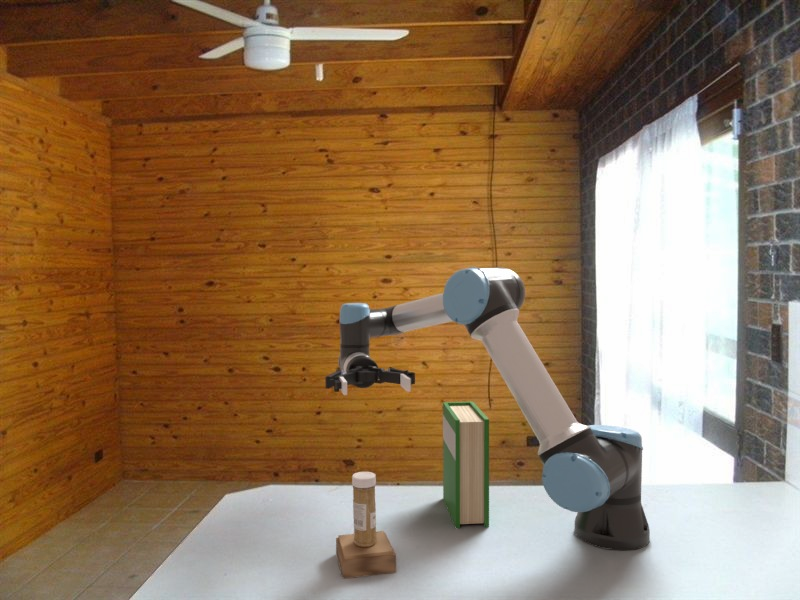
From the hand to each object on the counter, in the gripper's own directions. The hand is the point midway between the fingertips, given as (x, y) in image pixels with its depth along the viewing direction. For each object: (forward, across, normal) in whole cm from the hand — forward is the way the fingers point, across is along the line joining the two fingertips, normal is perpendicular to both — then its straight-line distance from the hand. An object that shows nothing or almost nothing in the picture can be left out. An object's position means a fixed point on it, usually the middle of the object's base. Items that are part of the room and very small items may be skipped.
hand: (377, 386), depth 134 cm
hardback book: (-8, -22, -32) cm, 40 cm away
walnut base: (+12, +5, -32) cm, 34 cm away
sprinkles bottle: (+12, +5, -28) cm, 31 cm away
